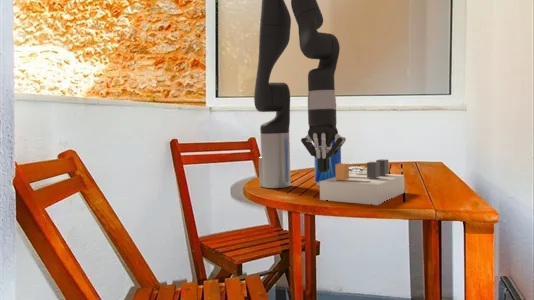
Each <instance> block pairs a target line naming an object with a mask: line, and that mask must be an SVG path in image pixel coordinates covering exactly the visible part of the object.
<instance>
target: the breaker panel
mask: <svg viewBox="0 0 534 300" xmlns="http://www.w3.org/2000/svg"><path fill="white" fill-rule="evenodd" d="M404 193H405V174H395V173H394V174H391V173H390V174H386V175H380V177H377V178H367V172H349V179H346V180H336V177H333V178H330V179H326V180H323V181H320V186H319V201H326V200H328V202H339V203H347V204H348V203H353V204H361V205H371V204H372V206H379V205H381V204H383V203H385V202H387V201H386V200H388V201H390V200H392V199H395V198H397V197H398V196H400V195H402V194H404ZM391 198H392V199H391ZM389 199H390V200H389ZM384 201H385V202H384ZM382 202H383V203H382Z"/></svg>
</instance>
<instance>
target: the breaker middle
mask: <svg viewBox="0 0 534 300" xmlns="http://www.w3.org/2000/svg"><path fill="white" fill-rule="evenodd" d="M366 173H367V178H377V177H380V162H376V161H369V162H366Z"/></svg>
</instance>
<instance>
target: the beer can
mask: <svg viewBox="0 0 534 300" xmlns="http://www.w3.org/2000/svg"><path fill="white" fill-rule="evenodd" d="M334 143H335V139H334V141H333V143H332V146H333V145H334ZM313 145H314V144H313ZM314 146H315V145H314ZM332 146H331V148H332ZM341 148H342V147H341ZM341 148H340V149H339V151H338V152H337V154H336V155H335V156H332V157H330V158H329V167H330V168H329V170H328V172H325V173H322V172H320V171H319V170H318V159H317V158H316V157H314V156H313V158H314V159H313V160H314V182H315V183H316V184H317V186H318V187H320V181H323V180H326V179H330V178H333V177H336V170H335V164H340V163H342V149H341Z"/></svg>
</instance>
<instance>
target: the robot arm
mask: <svg viewBox="0 0 534 300" xmlns="http://www.w3.org/2000/svg"><path fill="white" fill-rule="evenodd" d="M290 5H291V11H292V13H293V16H294V19H295V21H296V24H297V26H298V39H299V48H300V51H301V53H302V54H303V55H304V57H306V58H307V59H310V60H319V62H318V65H317V67H316V68H312V69H310V70H309V71H308V75H307V88H308V90H307V91H308V95H307V115H308V116H307V118H308V119H307V120H308V121H307V123H308V130H307V135H306V136H305V137H302V138H300V141H301V143H302V144H303V146H304V148H305V149H306V150H307V152H308V153H309V155H310V156H311V157H313V158H314V157H316V158H317V159H318V170H319V171H320V172H322V173H325V172H328V170H329V168H330V167H329V158H330V157H332V156H335V155H336V154H337V152H338V151H339V149H340V148H342V146H343V145H344V144H345V142H346V140H347V139H346V137H344V136H341V135H340V134H339V131H338V128H337V124H338V123H337V100H336V99H337V97H336V91H335V90H336V88H335V74H336V73H335V72H336V69H337V64H338V59H339V56H340V50H341V49H340V48H341V47H340V42H339V39H338V38H337V37H336V35H335V34H333V33H330V32H329V33H327V32H321V31H320V32H319V31H318V30H319V29H320V28H321V27H322V26H323V23H324V18H323V14H322V12H321V8H320V6H319V4H318V1H317V0H290ZM260 8H261V10H260V21H259V22H260V23H259V35H258V36H259V39H258V40H259V41H258V62H257V70H256V71H257V72H256V78H255V84H254V85H255V86H254V96H253V97H254V98H253V100H254V101H253V102H254V106H255V109H256V111H258V112H261V113H265V112H267V113H273V112H274V113H275V116H274V117H273V118H272V119H270V120H269V121H266V122H265V123H262V124H261V125H260V127H259V131H260V155H261V156H259V157H258V172H259V173H258V176H259V177H258V178H259V187H262V188H265V189H266V188H267V189H280V188H281V189H282V188H283V189H285V188H289V187H291V185H292V184H291V181H292V180H291V148H290V146H291V145H290V143H291V142H290V126H291V125H290V124H291V123H290V122H291V116H290V115H291V92H290V91H291V90H290V87H289V85H288V84H287V83H285V82H270V77H271V74H272V71H273V68H274V66H275V65H276V63H277V61H278V59H279V58H280V57H281V56H282V54H283V53H284V51H285V50H286V48H287V46H288V44H289V42H290V37H291V25H292V18H291V14H290V10H289V9H288V6H287V4H286V1H285V0H261V6H260ZM334 139H335V143H334V145H333V146H332V143H333V141H334ZM314 145H315V146H314ZM331 146H332V148H331Z"/></svg>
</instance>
